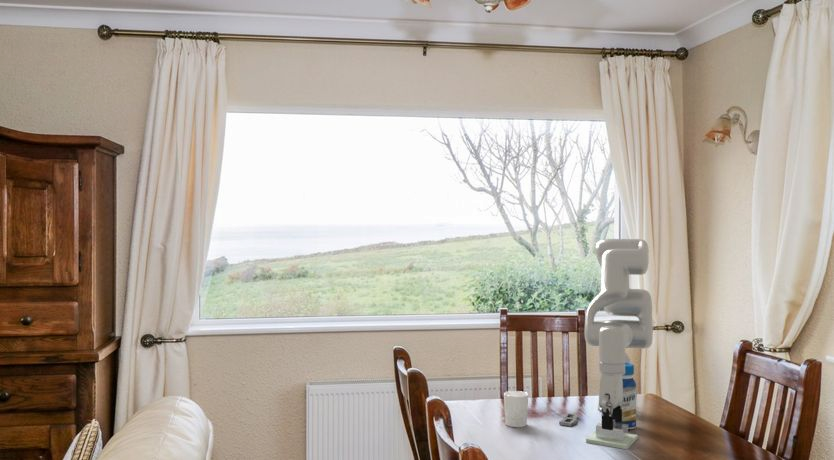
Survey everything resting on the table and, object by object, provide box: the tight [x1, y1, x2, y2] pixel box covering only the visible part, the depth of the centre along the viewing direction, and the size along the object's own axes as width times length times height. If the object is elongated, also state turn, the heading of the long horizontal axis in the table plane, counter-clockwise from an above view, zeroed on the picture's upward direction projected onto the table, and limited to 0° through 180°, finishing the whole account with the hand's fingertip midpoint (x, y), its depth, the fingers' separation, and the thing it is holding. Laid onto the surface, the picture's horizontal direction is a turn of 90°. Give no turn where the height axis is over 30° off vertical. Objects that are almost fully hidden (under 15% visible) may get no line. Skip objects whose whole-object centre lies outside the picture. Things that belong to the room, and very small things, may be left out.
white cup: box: [503, 390, 529, 428], centre depth 215 cm, size 8×8×10 cm
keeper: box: [585, 420, 639, 450], centre depth 198 cm, size 12×12×6 cm
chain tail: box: [558, 412, 578, 428], centre depth 219 cm, size 12×6×1 cm, turn 148°
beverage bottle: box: [610, 363, 638, 430], centre depth 213 cm, size 8×8×20 cm
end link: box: [595, 420, 629, 442], centre depth 198 cm, size 8×6×4 cm
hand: (612, 425), depth 198 cm, fingers open, 9 cm apart
